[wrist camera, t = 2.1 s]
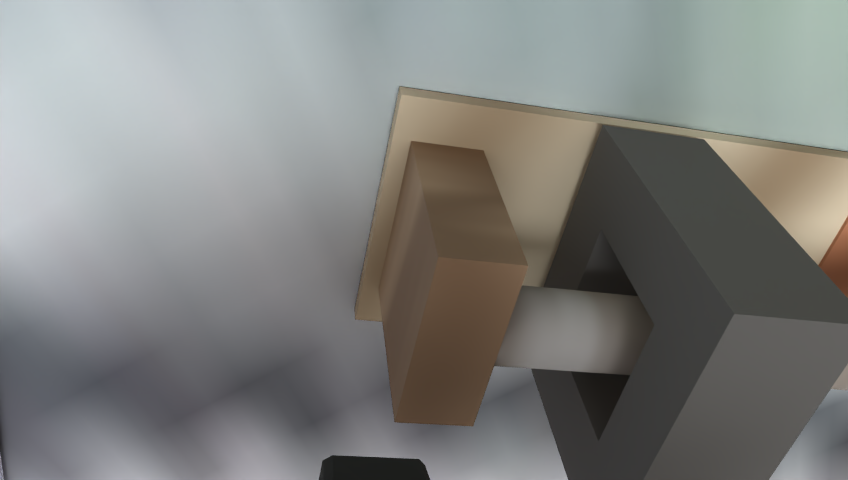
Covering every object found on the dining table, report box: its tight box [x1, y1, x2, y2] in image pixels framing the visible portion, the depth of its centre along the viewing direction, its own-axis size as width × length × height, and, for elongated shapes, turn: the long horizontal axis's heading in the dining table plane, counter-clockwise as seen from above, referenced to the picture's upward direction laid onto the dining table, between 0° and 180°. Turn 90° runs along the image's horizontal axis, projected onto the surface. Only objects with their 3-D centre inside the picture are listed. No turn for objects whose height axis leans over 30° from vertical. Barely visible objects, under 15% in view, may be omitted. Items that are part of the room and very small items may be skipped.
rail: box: [355, 87, 848, 426], centre depth 18 cm, size 17×6×5 cm, turn 78°
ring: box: [531, 125, 848, 480], centre depth 16 cm, size 2×6×6 cm, turn 168°
